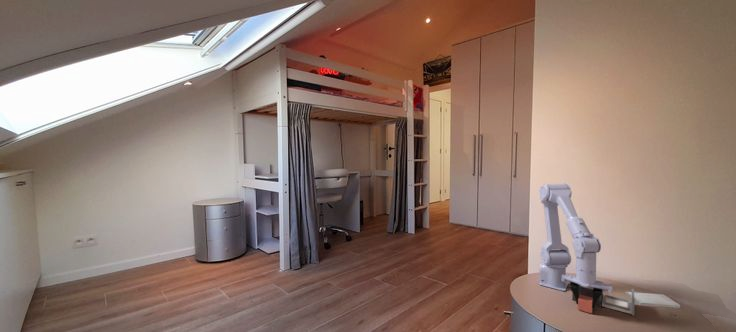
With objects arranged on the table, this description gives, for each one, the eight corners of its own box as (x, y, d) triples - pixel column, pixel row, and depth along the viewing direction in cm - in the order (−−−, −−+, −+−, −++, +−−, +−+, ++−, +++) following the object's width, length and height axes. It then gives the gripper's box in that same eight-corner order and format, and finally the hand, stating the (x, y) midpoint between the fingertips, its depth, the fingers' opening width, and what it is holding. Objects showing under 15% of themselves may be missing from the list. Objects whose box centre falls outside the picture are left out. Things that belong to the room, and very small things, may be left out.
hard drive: (639, 302, 105) (680, 305, 102) (625, 291, 113) (662, 293, 110) (639, 306, 105) (680, 309, 103) (625, 295, 113) (662, 297, 110)
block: (578, 309, 103) (578, 298, 103) (579, 304, 106) (579, 294, 106) (591, 313, 101) (592, 302, 100) (592, 308, 104) (593, 297, 103)
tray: (601, 307, 104) (602, 291, 104) (603, 296, 111) (603, 282, 111) (634, 316, 98) (634, 299, 98) (633, 304, 105) (633, 288, 105)
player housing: (572, 299, 110) (572, 284, 110) (575, 290, 117) (575, 275, 117) (601, 307, 104) (601, 291, 104) (602, 297, 111) (602, 282, 111)
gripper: (560, 267, 104) (560, 303, 105) (611, 278, 95) (611, 317, 96) (563, 261, 110) (563, 295, 111) (612, 271, 100) (611, 308, 101)
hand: (585, 305), depth 103 cm, fingers closed on block, 4 cm apart
